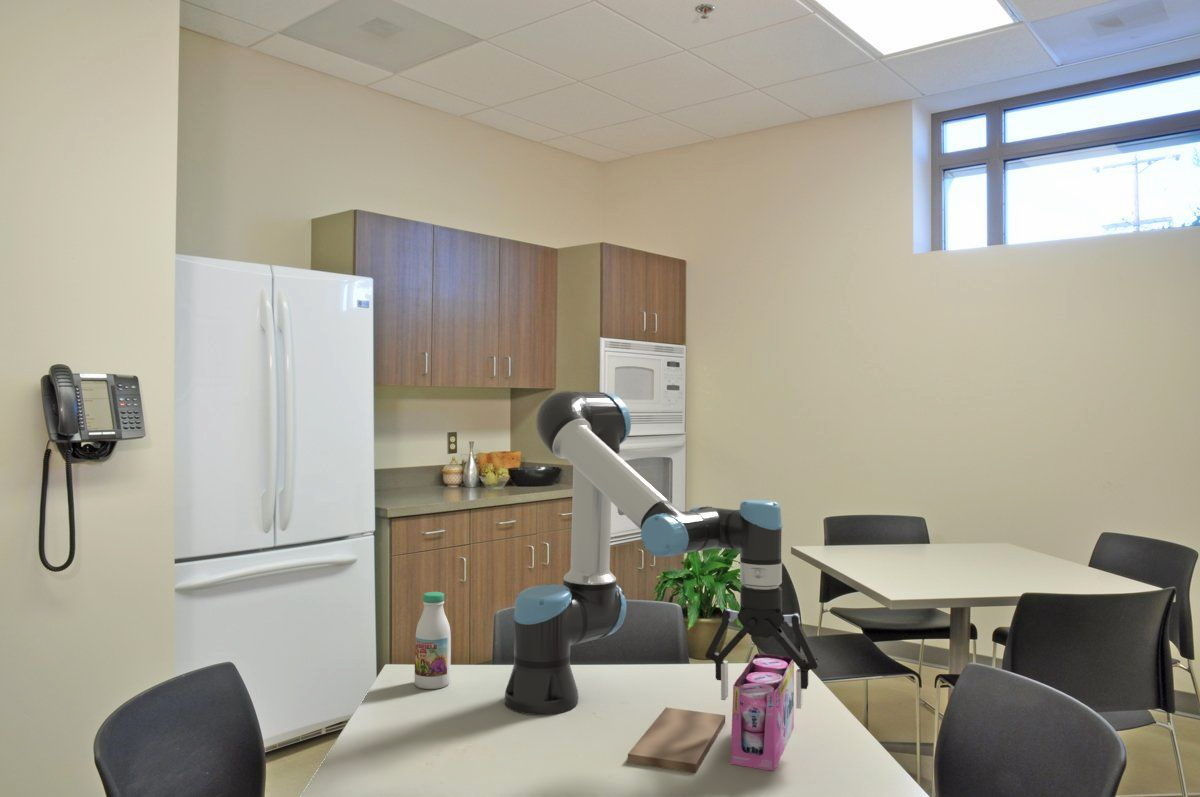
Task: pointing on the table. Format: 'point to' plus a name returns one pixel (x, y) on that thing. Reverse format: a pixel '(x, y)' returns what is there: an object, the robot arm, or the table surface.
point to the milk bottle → (432, 644)
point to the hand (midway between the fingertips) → (761, 702)
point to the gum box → (762, 711)
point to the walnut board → (677, 740)
